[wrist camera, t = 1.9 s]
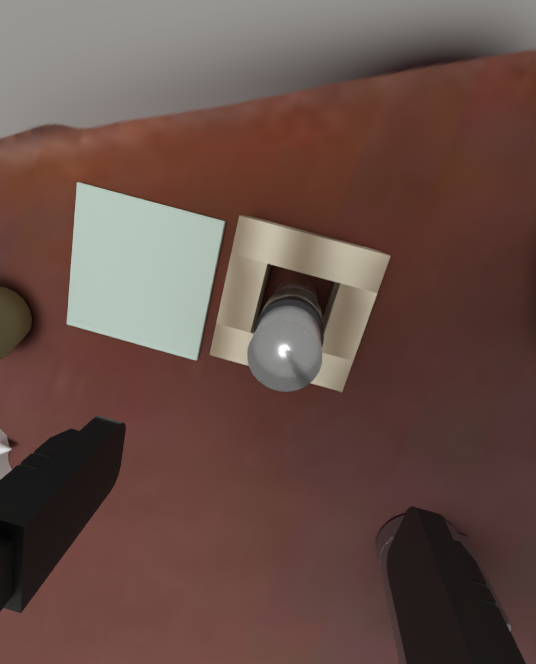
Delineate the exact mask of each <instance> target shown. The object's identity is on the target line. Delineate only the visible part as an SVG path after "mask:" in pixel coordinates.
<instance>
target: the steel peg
mask: <svg viewBox="0 0 536 664" xmlns="http://www.w3.org/2000/svg"><path fill="white" fill-rule="evenodd" d="M323 342H324V331H323V322H322V313H321V308H320V305H319V303H318V297H317V290H316V288H315V286H314V284H313V283H312V282H311V281H310V280H309V279H307V278H305V277H303V276H298V275H294V276H290V277H287V278H285V279H284V280H282V281H281V282H280V284H279V285H278V287H277V289H276V291H275V293H274V294H273V295H272V296H271V297H270V298H269V300H268V301H267V303H266V305H265V307H264V308H263V310H262V312H261V314H260V316H259V318H258V320H257V322H256V324H255V327H254V333H253V337H252V339H251V341H250V343H249V346H248V351H247V360H248V364H249V367H250V370H251V372H252V373H253V375H254V376H255V378H256V379H257V380H258V381H259V382H261V383H262V384H263V385H265V386H266V387H268V388H270V389H273V390H277V391H284V392H286V391H295V390H299V389H301V388H303V387H305V386H307V385H308V384H310V383H311V382H312V381H313V380H314V379H315V377H316V376H317V375H318V373H319V371H320V368H321V365H322V346H323Z"/></svg>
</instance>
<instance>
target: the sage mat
mask: <svg viewBox="0 0 536 664" xmlns="http://www.w3.org/2000/svg"><path fill="white" fill-rule="evenodd" d="M225 225H226V221H222V220H219V219H215V218H211V217H207V216H204V215H200V214H196V213H192V212H189V211H185V210H181V209H178V208H174V207H170V206H166V205H163V204H159V203H155V202H151V201H148V200H144V199H140V198H136V197H133V196H129V195H125V194H122V193H118V192H114V191H110V190H107V189H103V188H99V187H95V186H92V185H88V184H84V183H80V182H77V191H76V205H75V219H74V232H73V246H72V259H71V273H70V286H69V300H68V314H67V324H68V325H71V326H75V327H79V328H82V329H86V330H89V331H93V332H96V333H100V334H104V335H107V336H111V337H114V338H118V339H121V340H125V341H128V342H132V343H136V344H139V345H143V346H146V347H150V348H153V349H157V350H160V351H164V352H168V353H171V354H175V355H178V356H182V357H185V358H189V359H192V360H196V361H197V359H198V357H199V352H200V348H201V343H202V338H203V333H204V328H205V323H206V318H207V313H208V308H209V303H210V299H211V294H212V289H213V284H214V279H215V274H216V269H217V264H218V259H219V255H220V250H221V245H222V240H223V235H224V230H225Z"/></svg>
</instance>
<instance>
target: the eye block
mask: <svg viewBox="0 0 536 664" xmlns="http://www.w3.org/2000/svg"><path fill="white" fill-rule="evenodd" d="M389 259H390V255H388V254H386V253H383V252H381V251H379V250H375V249H372V248H368V247H364V246H360V245H357V244H353V243H349V242H345V241H342V240H338V239H334V238H330V237H327V236H323V235H319V234H315V233H312V232H308V231H304V230H300V229H297V228H293V227H289V226H285V225H282V224H278V223H274V222H270V221H267V220H263V219H259V218H255V217H252V216H240V215H239V220H238V224H237V229H236V234H235V238H234V243H233V248H232V252H231V257H230V262H229V266H228V271H227V276H226V280H225V285H224V290H223V294H222V299H221V304H220V308H219V313H218V318H217V322H216V327H215V332H214V336H213V341H212V346H211V350H210V355H212V356H215V357H219V358H222V359H226V360H230V361H233V362H237V363H240V364H244V365H247V366H249V364H248V360H247V351H248V346H249V343H250V341H251V339H252V337H253V333H254V327H255V324H256V322H257V320H258V318H259V313H260V309H261V305H262V301H263V297H264V293H265V289H266V285H267V281H268V277H269V273H270V269H271V265H275V266H278V267H282V268H286V269H289V270H293V271H297V272H300V273H304V274H308V275H312V276H315V277H319V278H323V279H326V280H330V281H334V283H333V286H332V289H331V293H330V296H329V299H328V302H327V305H326V308H325V312H324V315H323V318H322V322H323V331H324V342H323V346H322V365H321V368H320V371H319V373H318V375H317V376H316V377H315V379H314V380H313V381H312V382H311V383H312V384H315V385H319V386H322V387H326V388H330V389H333V390H337V391H340V392H342V391H343V388H344V385H345V383H346V380H347V377H348V374H349V371H350V369H351V366H352V363H353V360H354V357H355V355H356V352H357V349H358V346H359V343H360V341H361V338H362V335H363V332H364V329H365V327H366V324H367V321H368V318H369V315H370V313H371V310H372V307H373V304H374V301H375V299H376V296H377V293H378V290H379V287H380V285H381V282H382V279H383V276H384V273H385V270H386V268H387V265H388V262H389Z"/></svg>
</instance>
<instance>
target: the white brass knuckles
mask: <svg viewBox="0 0 536 664" xmlns="http://www.w3.org/2000/svg"><path fill="white" fill-rule="evenodd" d="M10 450H12V448H10V447H9V443H8V439H7V435H6V434H5V433H4V432H3V431H2V430H1V429H0V480H1V479H2V478H3V477H4V476H5V475H6V474H8V473H9V472H10V471H11V470H12V469H11V467H10V465H9V462H8V453H9V451H10Z"/></svg>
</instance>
